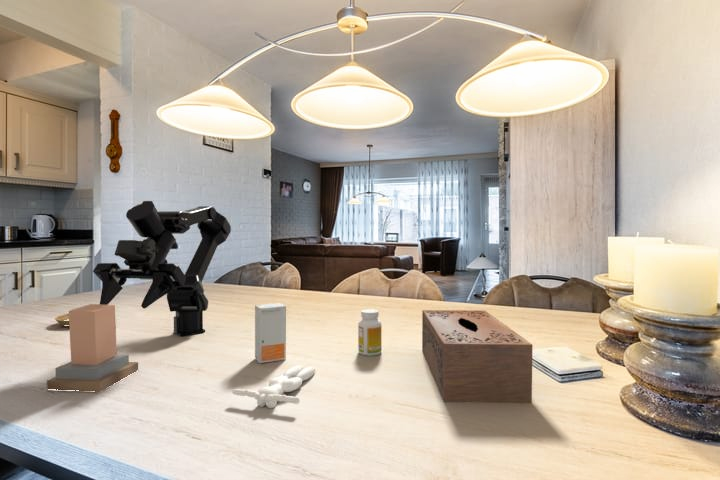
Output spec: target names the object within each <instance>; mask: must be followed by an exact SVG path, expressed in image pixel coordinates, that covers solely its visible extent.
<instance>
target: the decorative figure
mask: <svg viewBox="0 0 720 480" xmlns="http://www.w3.org/2000/svg"><path fill="white" fill-rule="evenodd" d="M315 372H316V368H315V367H314V366H308V367H305V368H304V367H303V365H295V366H291V367H289V368H288V369H286V371H284V373H283V375H279V376H276V377H272V378H270V380H269V381H268V386H262V387H261V388H259V389H258V390H257V391H256V390H249V389H242V388H234V389H233V390H232V394H233V395H235V396H239V397H245V396H247V397H248V398H254V399H255V400H257V401H256V405H257V406H258V407H259V408H263V407H265V406H266V407H267V408H269V409H274V408H275V407H276V406H277V403H278V402H284V403H288V404H289V403H290V404H295V405H298V404H300V401H301V400H300V397H299V396H291V395H286V394H284V393H289V392H294V391H296V390H297V389H299V388H300V387H301V385H302V383H303V382H304V381H306V380H309V379H310V378H312V376H314V374H315Z"/></svg>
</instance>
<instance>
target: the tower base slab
mask: <svg viewBox="0 0 720 480" xmlns="http://www.w3.org/2000/svg"><path fill="white" fill-rule="evenodd" d="M137 370H138V371H139V362H138V361H137V362H136V361H129V364H128V365H126V366H124V367H122V368H121V369H119V370H117V371H115V372H113V373H111V374H109V375H107V376H105V377H103V378H101V379H100V380H71V379H56V376H54V377H51V378H50V379H47V380H46V390H47V389H56V390H57V389H58V390H75V391H76V390H79V391H95V392H100V391H102V390H104V389H106V388H107V387H109V386H111V385H113V384H114V383H116V382H118V381H120V380H121V379H123V378H125V377H127V376H128V375H130V374H132V373H134V372H136V371H137ZM136 373H137V372H136ZM134 374H135V373H134ZM127 378H128V377H127ZM125 379H126V378H125ZM120 382H121V381H120ZM118 383H119V382H118ZM116 384H117V383H116ZM113 386H114V385H113ZM111 387H112V386H111ZM109 388H110V387H109ZM107 389H108V388H107ZM107 389H106V390H107ZM104 391H105V390H104ZM102 392H103V391H102ZM100 393H101V392H100Z"/></svg>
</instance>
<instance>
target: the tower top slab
mask: <svg viewBox="0 0 720 480" xmlns="http://www.w3.org/2000/svg"><path fill="white" fill-rule="evenodd" d="M129 358H130V354H127V353H117V355H116V356H114V357H112V358H110V359H108V360H106V361H104V362H102V363H100V364H98V365H77V364H71V361H68V362H67V363H64V364H62V365H60V366H57V367H55V377H56V379H71V380H100V379H101V378H103V377H105V376H107V375H109V374H111V373H113V372H115V371H117V370H119V369H121V368H122V367H124V366H126V365H128V364H129V362H130V361H129V360H130V359H129Z"/></svg>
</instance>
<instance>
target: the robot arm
mask: <svg viewBox="0 0 720 480" xmlns="http://www.w3.org/2000/svg"><path fill="white" fill-rule="evenodd" d="M125 216H126V218H127V220H128V221H129V223H130V224H131V226H132V227H133V228H134V230H135V231H136V233H137V234H138V235H139V236H140V237H141V238H145V239H143V240H137V239H119V240H118V242H117V245H116V248H115V251H114V255H115V256H116V257H120V258H122V259H123V260H124V261H123V264H125V266H128V268H121V267H120V265H119V264H118V262H98V263H97V264H96V266H95V267H94V268H93V270H92V272H93V274H95V276H96V277H97V278H98V279H99V280H100V281H101V283H102V284H101V293H100V300H99V304H101V305H110V303H111V302H112V301H113V300H114V299H115V297H116V296H117V295H118V294H119V293H120V292H121V291H122V290H123V288H124V287H122V286H123V285H125V284H126V282H127V280H128V279H139V280H144V281H145V280H147V281H149V280H150V281H151V280H152V282H151V284H150V287H149V288H148V290H147V292H146V294H145V295H144V298H143V300H142V302H141V305H140V306H141V307H142V309H147V308H148V307H149V306H151V305H152V304H153V303H155V302H156V301H158V300H159V299H160V298H162V297H164V296H165V295H166V301H167V304H168V308H169V312H175V316H173V332H174V333H175V334H177V335H178V336H180V337H184V336H189V335H190V336H191V335H196V334H200V333H205V332H206V329H204V328H203V326H204V324H203V323H204V322H203V319H204V317H203V315H204V314H203V312H204V311H207V309H208V307H209V300H208V298H207V296H206V295H205V293H204V292H205V289H204V286H203V283H202V282H203V280H204V277H205V275H206V273H207V270H208V269H209V266H210V264H211V261H212V259H213V258H214V255H215V252H216V250H217V248H218V247H219V246H220V245H221V244H223V243H224V242H226V241H227V239H228V237H229V236H230V234H231V231H232V228H231V224H230V223H229V221H228V219H227V217H225V216H224V215H223V214H222V213H220V212H218V211H217V210H216V208H215V207H213V206H211V205H209V206H208V205H206V206H202V205H201V206H200V205H199V206H197V207H194V208H192V209H191V208H190V209H185V210H181V211H180V210H179V211H175V210H174V211H173V210H172V211H164V210H163V211H162V210H161V211H158V210H157V207H156V206H155V204H154V202H153V200H143V201H142V202H141V203H139V204H137V205H135V206H133V207H131V208H129V209H128V210H127V212H126V214H125ZM196 224H197V229H198V230H199V233H200V236H201V240H200V243H199V244H198V246H197V248H196V251H195V252H194V255H193V257H192V259H191V261H190V263H189V265H188V267H187V268H186V271H185V273H184V272H183V270H182V268H180V266H179V265H178V263H176V262H175V263H171V262H168V260H167V259H166V258H167V256H168V255H169V253H170V252H171V250H178V249H179V245H178V243H177V240H176V238H175V236H174V235H175V234H177V235H182V234H184V233H186V232H188V231H189V230H190V229H191V226H193V225H196Z"/></svg>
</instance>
